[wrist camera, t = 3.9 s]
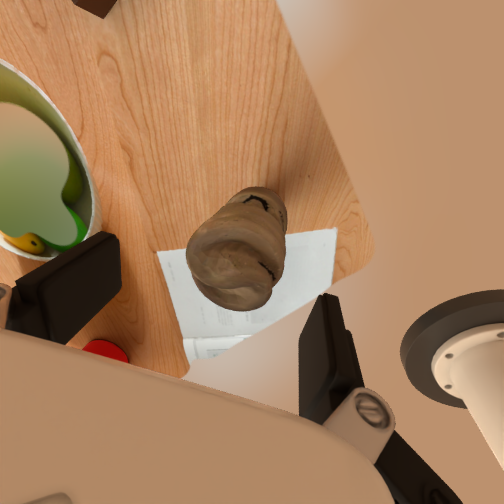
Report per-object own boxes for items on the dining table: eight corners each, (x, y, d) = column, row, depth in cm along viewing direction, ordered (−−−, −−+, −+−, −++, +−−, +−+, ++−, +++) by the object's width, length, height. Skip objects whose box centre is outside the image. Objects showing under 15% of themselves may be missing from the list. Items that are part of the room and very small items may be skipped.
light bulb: (233, 173, 25) (156, 235, 12) (289, 165, 23) (274, 224, 10) (243, 227, 27) (189, 327, 14) (294, 222, 26) (287, 327, 13)
